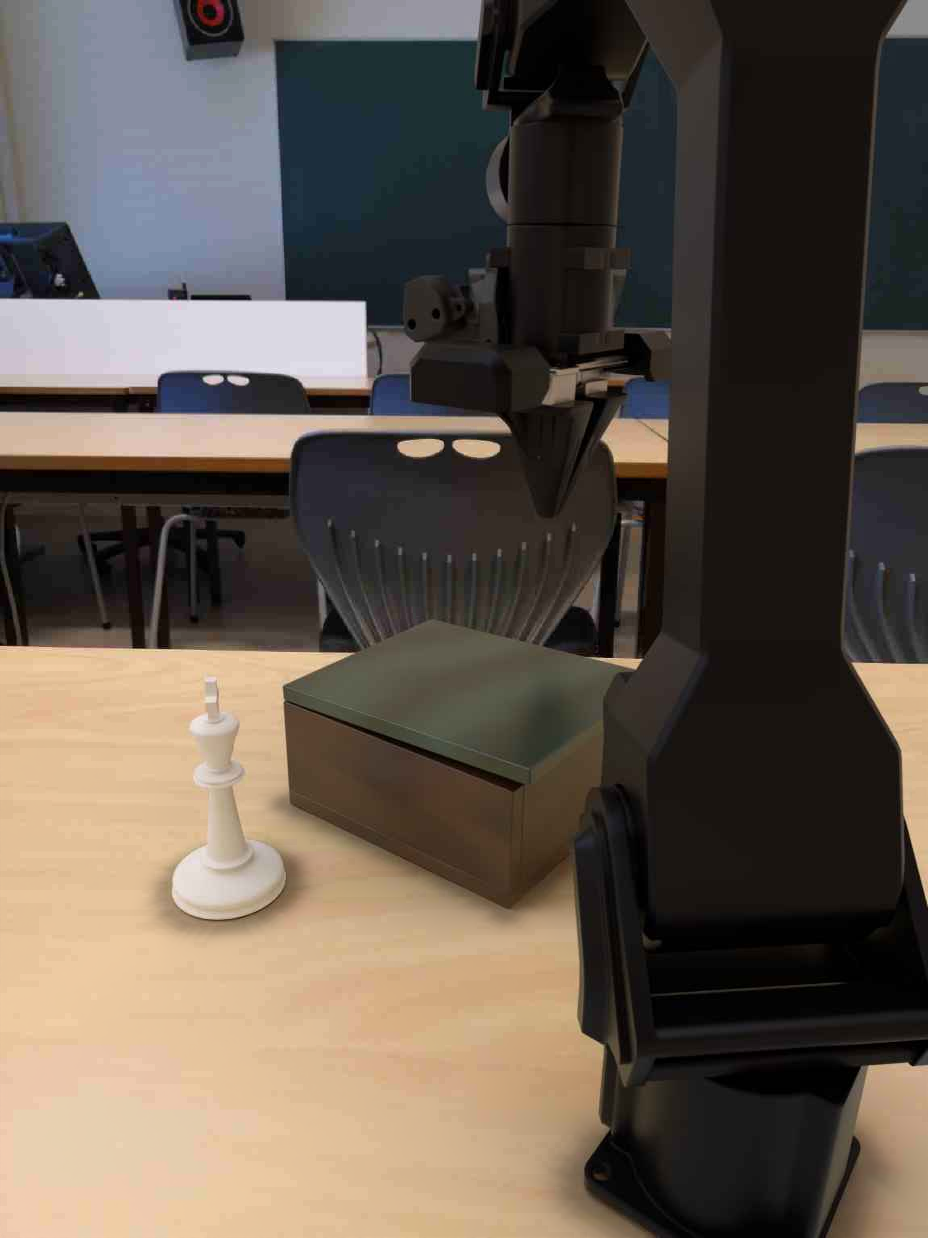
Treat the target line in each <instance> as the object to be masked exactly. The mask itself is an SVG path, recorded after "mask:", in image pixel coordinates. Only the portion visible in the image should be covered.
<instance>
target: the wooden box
mask: <svg viewBox="0 0 928 1238" xmlns="http://www.w3.org/2000/svg"><path fill="white" fill-rule="evenodd" d="M283 716H284V717H283V718H284V719H283V720H284V733H285V745H286V746H285V749H286V763H287V780H288V789H289V790H288V795H289V803H290V804H291V805H293V806H295V807H298V808H300V809H302V810H303V811H306V812H308V813H310V814H312V815H314V816H317V817H318V818H321V819H322V820H325V821H327V822H328V823H330V824H332V825H335V826H337V827H339V828H342V829H343V830H346V831H348V832H349V833H352V834H353V835H356V836H358V837H360V838H362V839H364V840H366V841H368V842H370V843H372V844H374V845H377V846H378V847H380V848H383V849H384V850H386V851H389V852H391V853H393V854H395V855H397V856H400V857H401V858H403V859H405V860H407V861H410V862H412V863H414V864H416V865H418V866H420V867H422V868H424V869H426V870H428V871H430V872H432V873H434V874H436V875H439V876H441V877H443V878H444V879H447V880H448V881H451V882H453V883H454V884H457V885H459V886H461V887H464V888H465V889H467V890H470V891H472V892H473V893H476V894H478V895H480V896H482V897H483V898H486V899H489V900H490V901H492V902H494V903H497V904H499V905H500V906H503V907H505V908H507V909H510V908H511V907H512V906H513V905H515V904H516V903H517V902H518V901H519V900H520V899H521V898H522V897H523V896H524V895H525V894H526V893H528V891H530V890H531V889H532V888H533V887H534V886H535V885H536V884H537V883H539V882H540V881H541V880H542V879H543V878H544V877H545V876H547V874H549V873H550V872H551V871H552V870H553V869H554V868H555V867H557V865H558V864H560V863H561V862H562V861H563V860H564V859H565V858H566V857H567V856H568V855H569V854H571V841H572V839H573V838H574V837H575V836H576V834H577V833H578V832H579V817H580V816H581V815H582V814H583V813H584V809H585V802H586V798H587V794H588V792H589V790H590V789H591V788H592V787H600V784H601V772H602V757H603V743H604V731H602V732H601V733H599V734H598V735H597V736H595V737H594V738H593V739H591V740H590V741H589V742H587V743H586V744H585V745H583V746H582V747H581V748H580V749H578V750H577V751H576V752H574V753H573V754H572V755H570V756H569V757H568V758H566V759H565V760H564V761H562V762H561V763H560V764H558V765H557V766H556V767H554V768H553V769H552V770H550V771H549V772H548V773H546V774H545V775H544V776H542V777H541V778H540V779H538V780H537V781H536V782H535V783H533V784H532V785H530V786H529V785H526V784H523V783H520V782H517V781H514V780H511V779H509V778H506V777H503V776H500V775H497V774H494V773H491V772H489V771H486V770H483V769H480V768H477V767H474V766H472V765H469V764H466V763H463V762H460V761H457V760H454V759H452V758H449V757H446V756H443V755H440V754H437V753H434V752H432V751H429V750H426V749H423V748H420V747H417V746H415V745H412V744H409V743H406V742H403V741H400V740H397V739H395V738H392V737H389V736H386V735H383V734H380V733H378V732H375V731H372V730H369V729H366V728H363V727H360V726H358V725H355V724H352V723H349V722H346V721H343V720H340V719H338V718H335V717H332V716H329V715H326V714H323V713H321V712H318V711H315V710H312V709H309V708H306V707H303V706H301V705H298V704H295V703H292V702H289V701H286V700H283Z"/></svg>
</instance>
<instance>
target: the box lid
mask: <svg viewBox="0 0 928 1238" xmlns="http://www.w3.org/2000/svg"><path fill="white" fill-rule="evenodd" d="M635 670H636V668H632V667H627V666H623V665H620V664H616V663H611V662H607V661H603V660H599V659H595V658H590V657H587V656H583V655H578V654H575V653H571V652H566V651H563V650H559V649H555V648H550V647H546V646H543V645H537V644H536V643H535V644H534V643H530V642H526V641H524V640H519V639H514V638H511V637H507V636H502V635H498V634H494V633H490V632H487V631H483V630H482V631H481V630H478V629H474V628H469V627H466V626H462V625H457V624H454V623H450V622H446V621H441V620H438V619H433V618H430V619H428V620H426V621H424V622H422V623H419V624H417V625H415V626H413V627H410V628H408V629H405V630H404V631H401V632H399V633H396V634H395V635H393V636H390V637H388V638H385V639H383V640H381V641H379V642H377V643H374V644H372V645H370V646H367V647H365V648H364V649H361V650H359V651H357V652H353V653H352V654H350V655H348V656H345V657H343V658H341V659H338V660H337V661H334V662H332V663H330V664H328V665H325V666H323V667H321V668H318V669H316V670H314V671H312V672H310V673H308V674H305V675H303V676H300V677H298V678H296V679H293V680H292V681H289V682H287V683H284V684H283V685H282V695H283V701H285V700H286V701H289V702H292V703H295V704H298V705H301V706H303V707H306V708H309V709H312V710H315V711H318V712H321V713H323V714H326V715H329V716H332V717H335V718H338V719H340V720H343V721H346V722H349V723H352V724H355V725H358V726H360V727H363V728H366V729H369V730H372V731H375V732H378V733H380V734H383V735H386V736H389V737H392V738H395V739H397V740H400V741H403V742H406V743H409V744H412V745H415V746H417V747H420V748H423V749H426V750H429V751H432V752H434V753H437V754H440V755H443V756H446V757H449V758H452V759H454V760H457V761H460V762H463V763H466V764H469V765H472V766H474V767H477V768H480V769H483V770H486V771H489V772H491V773H494V774H497V775H500V776H503V777H506V778H509V779H511V780H514V781H517V782H520V783H523V784H526V785H529V786H530V785H532V784H533V783H535V782H536V781H537V780H538V779H540V778H541V777H542V776H544V775H545V774H546V773H548V772H549V771H550V770H552V769H553V768H554V767H556V766H557V765H558V764H560V763H561V762H562V761H564V760H565V759H566V758H568V757H569V756H570V755H572V754H573V753H574V752H576V751H577V750H578V749H580V748H581V747H582V746H583V745H585V744H586V743H587V742H589V741H590V740H591V739H593V738H594V737H595V736H597V735H598V734H599V733H601V732H602V731H603V699H604V696H605V694H606V692H607V690H608V688H609V686H610V684H611V682H612V680H613V678H614V676H615V675H616V674H617V673H618V672H634V671H635Z"/></svg>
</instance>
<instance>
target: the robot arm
mask: <svg viewBox="0 0 928 1238" xmlns="http://www.w3.org/2000/svg"><path fill="white" fill-rule="evenodd" d="M908 2H909V0H481V2H480V12H479V23H478V31H477V41H476V52H475V62H474V72H473V77H474V78H473V79H474V89H475V91H482V101H481V107H482V111H502V112H503V111H504V112H505V111H506V112H509V124H508V125H509V126H508V133H507V136H506V137H504V139H502V141H501V142H500V143H499V144H498V145H496V148H495V149H494V150H493V153H492V155H491V156H490V158H489V162H488V165H487V168H486V171H485V172H486V173H485V186H486V194H487V196H488V200H489V202H490V205H491V206H492V208H493V210H494V211H495V213H496V214H497V215H498V216H499V218H501V219H502V221H504V222H505V223H507V226H506V246H490V247H489V253H487V254H486V257H485V265H484V266H485V269H484V270H485V271H484V278H483V279H479V280H477V281H476V282H472V283H469V284H457V285H456V286H452V285H451V284H450V282H449V281H448V280H447V278H446V277H445V276H443V275H420V276H418V277H416V278H414V279H412V280H410V281H408V282H406V283H405V284H404V294H403V305H402V306H403V307H402V317H403V318H402V319H403V323H404V325H403V331H404V334H405V335H406V336H407V337H408V338H409V339H410V340H411V341H413V342H414V343H424V344H422V346H421V347H420V348H419V350H418V351H417V352H416V353H415V355H414V356H413V357H412V358H411V360H410V361H409V401H410V402H411V403H416V404H417V403H418V404H423V405H432V406H439V407H440V406H441V407H447V408H456V409H461V410H462V409H463V410H470V411H479V412H487V413H492V414H493V413H494V414H496V415H497V417H499V418H500V419H501V420H502V422H504V423H505V425H506V426H507V427H508V429H509V431H510V433H511V436H512V439H513V441H514V443H515V446H516V449H517V452H518V455H519V458H520V461H521V465H522V469H523V472H524V475H525V478H526V482H527V485H528V490H529V493H530V495H531V499H532V503H533V506H534V509H535V513H536V515H537V516H538V517H540V518H545V519H550V520H551V519H554V518H556V517H559V516H560V515H561V513H562V511H563V510H564V507H565V505H566V504H567V502H568V500H569V498H570V496H571V494H572V493H573V490H574V488H575V487H576V485H577V484H578V481H579V480H580V477H581V476H582V474H583V472H584V470H585V468H586V466H587V464H588V462H589V461H590V459H591V457H592V455H593V453H594V451H595V450H596V448H597V446H598V444H599V443H600V441H601V439H602V438H603V437H604V435H605V433H606V431H607V430H608V428H609V426H610V424H611V423H612V421H613V419H614V418H615V416H616V414H617V413H618V411H619V410H620V407H621V406H622V405H624V404H626V403H627V402H628V399H629V394H628V393H626V392H621V391H610V390H608V378H604V377H603V376H604V374H605V373H610V374H615V375H627V376H636V377H637V376H639V377H640V376H641V377H643V378H644V380H645V382H647V383H658V382H663V381H667V380H669V388H668V389H669V390H668V423H667V455H666V456H667V457H666V458H667V459H666V460H667V461H666V488H665V489H666V493H665V494H666V495H665V526H664V527H665V528H664V559H663V561H664V562H663V563H664V564H663V591H662V592H663V596H662V620H661V629H660V632H659V634H658V635H657V637H656V638H655V640H654V642H653V643H652V644H651V646H650V647H649V649H648V650H647V652H646V653H645V655H644V657H643V658H642V659H641V661H640V662H639V664H638V665H637V667H636V668H635V669H636V670H635V671H634V672H618V673H617V674H616V675H615V676H614V678H613V680H612V682H611V684H610V686H609V688H608V690H607V692H606V694H605V696H604V699H603V731H604V743H603V757H602V772H601V784H600V787H592V788H591V789H590V790H589V792H588V794H587V798H586V802H585V809H584V813H583V814H582V815H581V816H580V817H579V832H578V833H577V834H576V836H575V837H574V838H573V839H572V841H571V852H570V858H571V872H572V884H573V896H574V898H573V899H574V909H575V911H574V913H575V922H576V923H575V924H576V935H577V937H576V938H577V948H578V949H577V950H578V968H579V970H578V971H579V973H578V975H579V978H578V980H579V981H578V995H577V996H578V997H577V1011H576V1018H577V1021H578V1025H579V1029H580V1032H581V1033H582V1034H583V1035H584V1036H587V1037H588V1038H590V1039H592V1040H593V1041H595V1042H597V1043H599V1044H600V1045H602V1046H603V1057H602V1066H601V1067H602V1068H601V1079H600V1093H599V1103H598V1117H599V1120H600V1123H601V1124H602V1125H604V1126H605V1127H606V1128H609V1130H608V1131H607V1133H606V1134H605V1135H604V1136H603V1139H602V1140H601V1141H600V1142H599V1144H598V1145H597V1147H596V1148H595V1150H594V1151H593V1153H592V1154H591V1155H590V1157H589V1158H588V1160H587V1161H586V1163H585V1165H584V1168H583V1178H582V1179H583V1185H584V1187H585V1189H586V1191H588V1193H590V1194H591V1195H592V1196H594V1197H596V1198H597V1199H599V1200H600V1201H602V1202H603V1203H605V1204H606V1205H608V1206H610V1207H611V1208H612V1209H614V1210H615V1211H617V1212H618V1213H620V1214H622V1215H623V1216H625V1217H626V1218H628V1219H629V1220H631V1221H633V1222H634V1223H635V1224H637V1225H638V1226H640V1227H642V1228H643V1229H645V1230H646V1231H648V1232H649V1233H650V1234H652V1235H654V1236H656V1237H657V1238H828V1237H829V1234H830V1232H831V1229H832V1227H833V1224H834V1222H835V1220H836V1217H837V1215H838V1212H839V1209H840V1207H841V1205H842V1203H843V1200H844V1198H845V1195H846V1192H847V1191H848V1187H849V1184H850V1182H851V1179H852V1177H853V1175H854V1172H855V1170H856V1167H857V1165H858V1162H859V1160H860V1159H859V1158H860V1154H861V1147H862V1146H861V1143H860V1141H859V1139H858V1138H857V1136H856V1135H855V1134H854V1133H855V1129H856V1125H857V1124H856V1123H857V1119H858V1115H859V1110H860V1106H861V1102H862V1097H863V1092H864V1089H865V1088H864V1087H865V1083H866V1078H867V1074H868V1069H869V1067H870V1066H881V1065H882V1066H883V1065H896V1064H897V1065H898V1064H908V1065H909V1066H910V1067H922V1066H923V1067H924V1066H925V1067H926V1066H928V901H927V897H926V894H925V890H924V886H923V881H922V878H921V874H920V870H919V866H918V862H917V859H916V854H915V851H914V848H913V843H912V839H911V836H910V835H911V834H910V831H909V828H908V824H907V821H906V817H905V814H904V782H903V778H904V777H903V756H902V754H903V753H902V749H901V747H900V744H899V742H898V740H897V738H896V737H895V736H894V733H893V731H892V730H891V729H890V727H889V725H888V722H886V719H885V718H884V716H883V715H882V712H881V711H880V709H879V708H878V706H877V704H876V702H875V700H874V699H873V697H872V696H871V694H870V692H869V690H868V689H867V687H866V685H865V683H864V682H863V680H862V678H861V676H860V674H859V673H858V671H857V669H856V668H855V665H854V664H853V663H852V661H851V659H850V657H849V656H848V654H847V652H846V648H845V619H846V604H847V603H846V601H847V585H848V571H849V569H848V568H849V554H850V553H849V552H850V551H849V550H850V538H851V537H850V536H851V524H852V523H851V522H852V521H851V520H852V507H853V490H854V473H855V458H856V457H855V455H856V441H857V425H858V411H859V396H860V395H859V393H860V377H861V361H862V345H863V328H864V312H865V298H866V297H865V296H866V281H867V265H868V252H869V251H868V249H869V236H870V235H869V232H870V217H871V202H872V201H871V199H872V185H873V166H874V156H875V155H874V153H875V138H876V122H877V121H876V120H877V107H878V106H877V105H878V90H879V75H880V74H879V72H880V65H881V64H880V63H881V57H882V49H883V44H884V42H885V39H886V37H887V35H888V33H889V32H890V31H891V29H892V27H893V26H894V24H895V22H896V21H897V19H898V18H899V16H900V14H901V13H902V11H903V10H904V8H905V6H906V5H907V3H908ZM650 48H652V50H653V52H654V54H655V56H656V57H657V59H658V61H659V63H660V64H661V66H662V68H663V69H664V71H665V73H666V75H667V76H668V78H669V80H670V82H671V84H672V85H673V87H674V88H675V92H676V106H677V107H676V108H677V109H676V112H677V114H676V148H675V182H674V183H675V184H674V217H673V219H674V220H673V249H672V250H673V253H672V257H673V258H672V284H671V285H672V286H671V317H670V318H671V319H670V320H671V323H670V336H669V335H668V334H667V332H666V331H665V330H662V329H661V330H660V329H644V328H628V327H627V328H626V327H613V326H611V318H612V317H611V316H612V303H613V290H614V289H613V287H614V271H615V270H629V269H630V262H631V261H630V260H631V259H630V258H631V248H619V247H616V243H617V230H618V229H617V228H618V227H617V225H618V214H619V213H618V211H619V197H620V182H621V169H622V168H621V167H622V153H623V139H624V138H623V137H624V127H623V126H622V125H623V118H622V115H623V113H624V112H626V111H628V110H629V108H630V105H631V102H632V99H633V96H634V94H635V91H636V88H637V85H638V82H639V79H640V77H641V74H642V71H643V68H644V65H645V63H646V59H647V56H648V54H649V51H650ZM506 52H507V54H506ZM505 54H506V57H505ZM504 60H505V64H504ZM504 65H505V66H504ZM503 67H504V73H506V75H503V76H502V74H503ZM501 78H502V88H500V85H501ZM612 81H613V84H612ZM596 1175H602V1176H604V1177H605V1179H601V1178H600V1179H599V1178H597V1177H596Z"/></svg>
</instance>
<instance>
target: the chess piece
mask: <svg viewBox="0 0 928 1238" xmlns="http://www.w3.org/2000/svg"><path fill="white" fill-rule="evenodd" d="M217 682H218V681H217V676H211V677H210V676H209V677H205V678H204V690H205V691H204V692H205V701H204V707H205V713H203V714H200V715H199V716H197V717H195V718H193V720H192V721H191V722H190V724H189V727H188V728H189V733H190V735H191V737H192V739H193V741H194V742H195V744H196V746H197V748H198V750H199V753H200V755H201V756H202V760H203V761H204V762H202V763H201V764H199V765H198V766H197V767H196V768H195V769H194V772H193V776H192V777H193V778H192V780H193V782H194V784H196V786H197V787H200V788H203V789H207V790H208V816H207V817H208V818H207V838H206V845H203V846H202V847H201V846H200V847H199V848H197V849H196V850H194V851H192V852H191V853H189V854H188V855H186V856H185V857H184V858H183V859H182V860H181V861H180V863H178V864H177V866H176V868H175V869H174V872H173V874H172V887H171V896H172V900H173V901H174V903H175V905H176V906H177V907H178V908H179V909H180V910H181V911H183V912H184V913H186V914H188V915H190V916H193V917H196V918H198V919H199V918H200V919H204V920H205V919H206V920H230V919H237V918H240V917H244V916H248V915H251V914H253V913H255V912H257V911H259V910H262V909H263V908H265V907H266V906H268V905H269V904H271V903H272V902H273V901H274V900H275V899H277V897H278V896H279V895H280V894H281V892H282V891H283V889H284V887H285V885H286V881H287V872H286V870H285V869H286V868H285V867H284V861H283V858H282V856H281V855H280V854H279V852H278V851H277V850H275V848H274V847H272V846H270V845H268V844H267V843H264V842H262V841H257V840H254V839H247V838H245V835H244V831H243V827H242V822H241V819H240V815H239V810H238V807H237V802H236V796H235V793H234V788H233V786H235V785H237V784H238V783H240V782H241V781H242V780H243V779H244V778H245V775H246V770H245V768H244V765H243V764H242V762H240V761H238V760H236V759H233V758H232V756H233V753H234V747H235V743H236V740H237V739H236V738H237V736H238V733H239V729H240V719H239V718H238V717H237V715H235V714H233V713H231V712H226V711H220V703H219V699H220V688H219V684H218V683H217Z"/></svg>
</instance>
